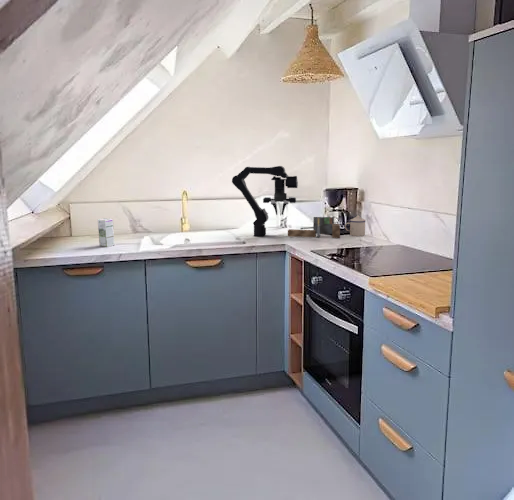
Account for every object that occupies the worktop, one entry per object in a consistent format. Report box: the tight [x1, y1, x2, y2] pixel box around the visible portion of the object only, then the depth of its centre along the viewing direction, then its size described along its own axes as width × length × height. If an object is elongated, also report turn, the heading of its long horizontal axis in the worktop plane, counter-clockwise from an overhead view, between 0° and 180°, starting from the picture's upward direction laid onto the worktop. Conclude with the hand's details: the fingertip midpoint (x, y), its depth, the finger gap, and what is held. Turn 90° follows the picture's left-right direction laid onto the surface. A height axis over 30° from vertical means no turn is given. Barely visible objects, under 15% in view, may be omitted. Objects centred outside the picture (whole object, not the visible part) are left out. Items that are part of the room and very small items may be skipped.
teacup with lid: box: [344, 215, 366, 237], centre depth 295 cm, size 12×9×12 cm
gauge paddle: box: [316, 218, 321, 238], centre depth 294 cm, size 1×14×9 cm, turn 173°
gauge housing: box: [312, 216, 341, 239], centre depth 294 cm, size 15×17×10 cm
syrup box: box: [97, 217, 115, 248], centre depth 265 cm, size 6×6×14 cm
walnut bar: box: [287, 229, 317, 238], centre depth 292 cm, size 16×4×4 cm, turn 76°
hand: (279, 214), depth 292 cm, fingers open, 3 cm apart
